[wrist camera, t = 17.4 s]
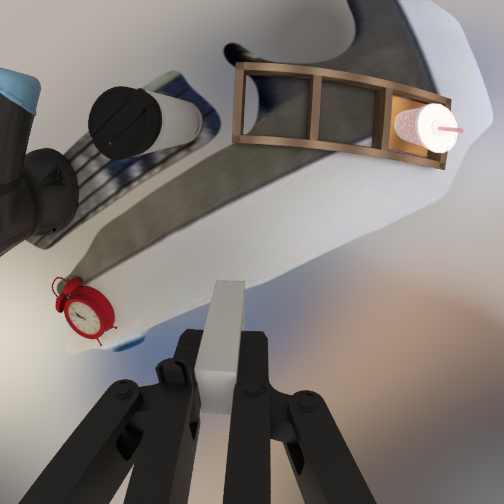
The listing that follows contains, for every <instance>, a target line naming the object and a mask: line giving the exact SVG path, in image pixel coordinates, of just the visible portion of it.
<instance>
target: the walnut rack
mask: <svg viewBox="0 0 504 504" xmlns="http://www.w3.org/2000/svg"><path fill="white" fill-rule="evenodd" d="M246 75H259V76H276V77H289V78H299V79H309V80H310V81H309V99H308V115H307V130H306V139H302V138H291V137H279V136H264V135H244V134H243V125H244V105H245V86H246ZM322 81H325V82H332V83H338V84H345V85H351V86H356V87H362V88H367V89H372V90H376V97H375V113H374V126H373V137H372V148H371V147H365V146H359V145H352V144H345V143H337V142H329V141H321V140H318V130H319V116H320V100H321V82H322ZM393 94H394V95H398V96H402V97H406V98H410V99H414V100H417V101H421V102H425V103H428V104H432V103H434V104H441V105H443V106H445V107H446V108H448V109H449V110H450V112H451V99H449V98H446V97H443V96H440V95H437V94H434V93H431V92H427V91H424V90H421V89H417V88H414V87H410V86H407V85H403V84H399V83H395V82H391V81H387V80H383V79H378V78H374V77H369V76H364V75H359V74H354V73H348V72H342V71H336V70H330V69H322V68H315V67H306V66H297V65H286V64H272V63H251V62H236V71H235V89H234V108H233V130H232V143H251V144H268V145H282V146H294V147H305V148H315V149H324V150H333V151H340V152H348V153H355V154H362V155H369V156H375V157H381V158H387V159H393V160H398V161H403V162H409V163H414V164H419V165H423V166H428V167H433V168H437V169H442V170H445V165H446V158H447V153H448V151H446V152H444V153H435V152H432V151H430V150H428V149H426V148H425V147H423V146H420V145H417V144H414V143H411V142H408V141H405V140H403V139H401V138H400V137H399V136H398V135H397V133H396V131H395V127H394V121H395V118H396V116H397V115H398V114H399V113H400V112H402V111H406V110H410V109H415V108H421V107H423V106H426V105H427V104H423V103H420V102H416V101H412V100H409V99H405V98H401V97H397V96H393ZM388 149H392V150H398V151H403V152H408V153H412V154H417V155H422V156H426V157H427V151H428V157H427V158H423V157H419V156H414V155H409V154H404V153H399V152H394V151H389V150H388Z"/></svg>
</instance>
